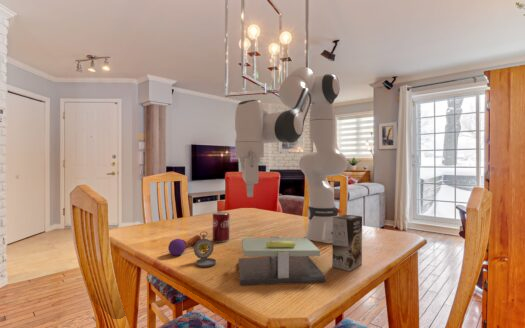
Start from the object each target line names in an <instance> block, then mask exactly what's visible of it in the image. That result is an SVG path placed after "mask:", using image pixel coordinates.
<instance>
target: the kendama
mask: <svg viewBox="0 0 525 328" xmlns="http://www.w3.org/2000/svg"><path fill="white" fill-rule="evenodd" d="M201 239H202V236H200V234H196V235H194V236H193V237H191V238H190V239H188V240H183V239H181V238H175V239H172V240H171V241H170V242H169V244H168V248H167V249H168V253H170V254H171V255H172V256H175V257H177V256H180V255H182V254H184V252H185V250H186V249H187V246H190V245H193V244H194V245H195V244H196V243H197V242H198V241H199V240H201Z"/></svg>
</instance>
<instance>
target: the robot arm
mask: <svg viewBox="0 0 525 328" xmlns="http://www.w3.org/2000/svg"><path fill="white" fill-rule="evenodd" d="M340 86H341V85H340V82H339V78H338V77H337V76H336V75H334V74H330V73H329V74H328V73H326V74H323V75H315V74H314V71H312V70H311V69H310V68H309V67H306V66H300V67H297V68H296V69H294V70H293V71H292V72H290V73H289V74H288V75H287V77H286V78H285V79H284V80H283V81H282V82H281V83H280V86H279V89H278V97H279V99H280V101H281V103H282V104H283V105H284V106H286V107H287V108H289V109H288V110H285V111H279V112H272V113H270V112H267V111H265V109H264V108H263V104H262V101H261V100H258V99H250V100H243V101H240V102H239V103H237V106H236V108H235V115H234V129H235V134H236V137H235V140H234V145H235V146H234V147H235V149H234V151H235V152H234V153H235V154H234V155H235V158H236V159H237V158H238V159H239V161H238V162H239V163H240V170H241V176H242V180H243V181H244V183H245V188H246V189H245V190H246V196H247V198H253V197H254V187H255V184H258V183H259V178H260V176H259V163H261V162H260V159H261V158H264V155H265V152H264V146H265V144H272V143H275V144H276V143H291V144H293V143H295V142H297V141H298V140H299V139H300V138H301V136H302V135H303V132H304V127H305V126H304V123H305V121H306V119H307V117H308V116H307V115H308V112H309V139H310V141H311V142H312V143H314V145H315V149H316V151H314V152H313V151H312V152H308V153H306V154H303V155H302V156H301V157H300V158H299V161H298V166H299V169H300V171H301V172H302V173H303V174H304V177H305V179H306V180H305V181H306V183H307V187H308V206H307V207H308V209H307V218H308V223H307V230H306V234H305V238H308V239H309V240H310V241H312V242H313V241H314V242H318V243H319V242H321V243H324V244H333V217H337V216H339V214H342V212H343V210H342V208H338V207H335V190H334V188H333V186H332V185H330V183H329V180H328V177H337V176H340V175H342V174H344V173H345V171H346V170H347V167H348V161H347V158H346V156H345V155H344V154H343V153H342V152H341V151H340V149H339V147H338V144H337V141H336V135H335V134H336V133H335V132H336V131H335V128H336V127H335V110H334V109H335V108H334V102H335V100H336V99H337V98H338V96H339V94H340ZM309 109H310V111H309Z"/></svg>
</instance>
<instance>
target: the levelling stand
mask: <svg viewBox="0 0 525 328" xmlns="http://www.w3.org/2000/svg"><path fill="white" fill-rule="evenodd" d="M269 238H280V237H279V236H269ZM238 273H239V286H240V285H242V286H258V284H266V285H280V284H279V283H290V284H311V282H312V283H326V276H325V275H324V273H323V272H322V270H321V269H320V268H319V267H318V266H317V265H316V264H315V262H314V261H313V260H312V259H311V257H310V256H289V252H278V255H277V256H267V257H244V258H243V257H242V258H241V257H240V258H238ZM277 283H278V284H277Z"/></svg>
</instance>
